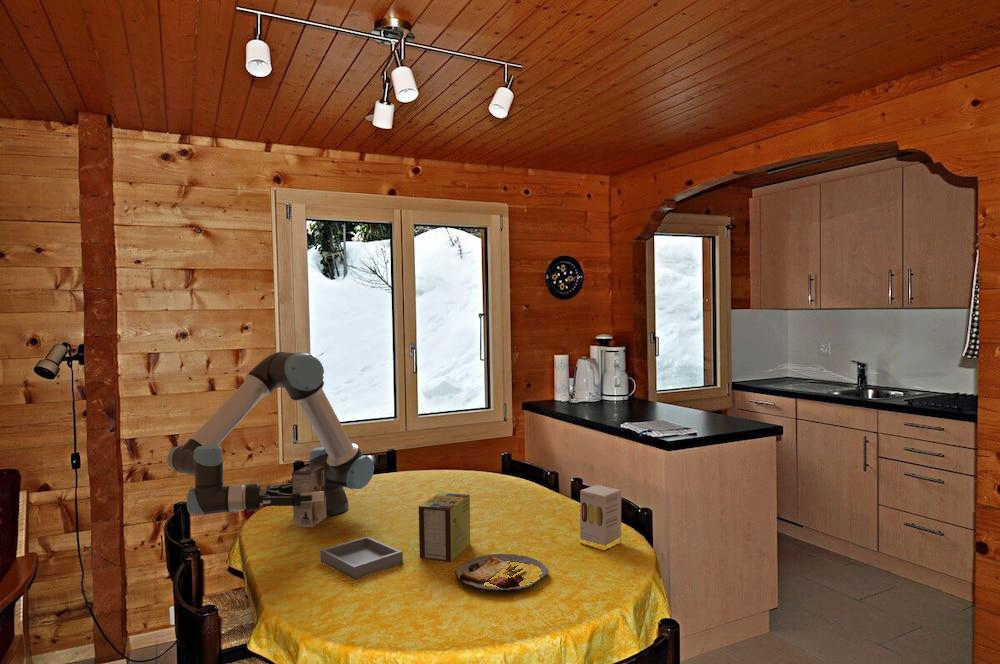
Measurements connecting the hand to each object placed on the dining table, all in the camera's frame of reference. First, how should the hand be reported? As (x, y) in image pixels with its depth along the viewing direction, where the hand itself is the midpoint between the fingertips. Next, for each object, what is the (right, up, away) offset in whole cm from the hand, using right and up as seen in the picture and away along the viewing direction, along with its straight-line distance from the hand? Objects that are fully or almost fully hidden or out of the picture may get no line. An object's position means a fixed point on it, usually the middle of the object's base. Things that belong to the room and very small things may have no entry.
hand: (324, 490), depth 200 cm
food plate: (+53, -19, -20) cm, 60 cm away
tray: (+13, -19, -9) cm, 24 cm away
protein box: (+37, -18, 0) cm, 41 cm away
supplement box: (+84, -18, +5) cm, 86 cm away
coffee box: (-4, -9, -1) cm, 10 cm away
